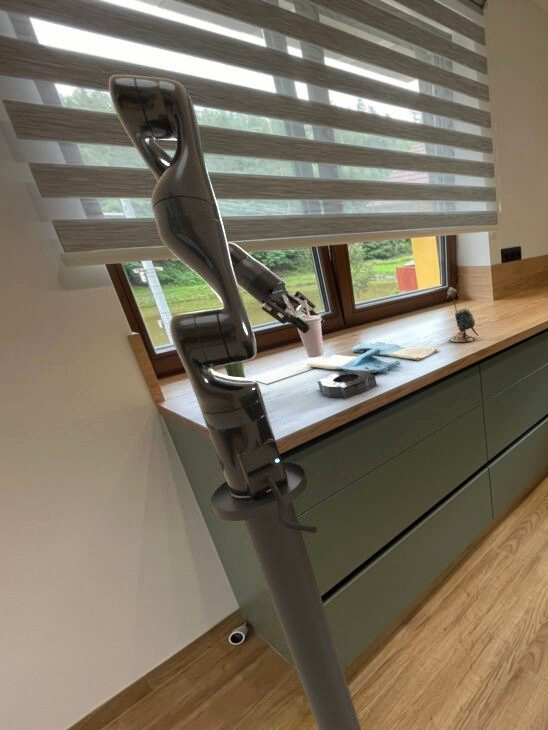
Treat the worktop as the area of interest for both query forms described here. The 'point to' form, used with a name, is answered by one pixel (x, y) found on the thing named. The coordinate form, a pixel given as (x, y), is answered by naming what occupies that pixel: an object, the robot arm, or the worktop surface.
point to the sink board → (347, 383)
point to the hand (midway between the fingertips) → (315, 326)
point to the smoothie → (312, 334)
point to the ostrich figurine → (462, 321)
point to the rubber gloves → (368, 361)
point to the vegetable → (235, 370)
